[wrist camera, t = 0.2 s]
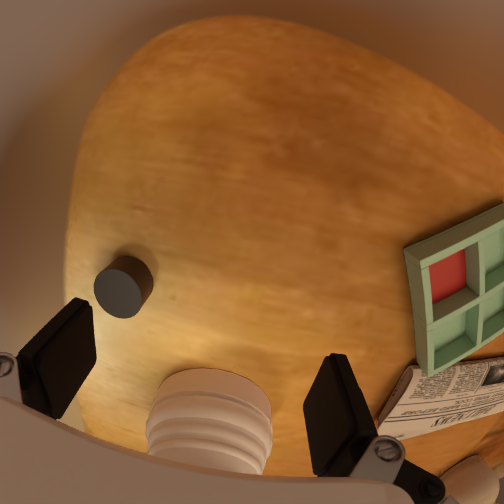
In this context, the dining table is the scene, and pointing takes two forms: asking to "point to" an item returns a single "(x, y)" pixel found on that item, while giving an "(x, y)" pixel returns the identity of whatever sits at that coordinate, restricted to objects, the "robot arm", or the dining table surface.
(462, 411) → the newspaper
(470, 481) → the jug
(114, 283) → the dark grey short cylinder
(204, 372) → the honey pot
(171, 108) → the dining table surface
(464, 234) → the grid
